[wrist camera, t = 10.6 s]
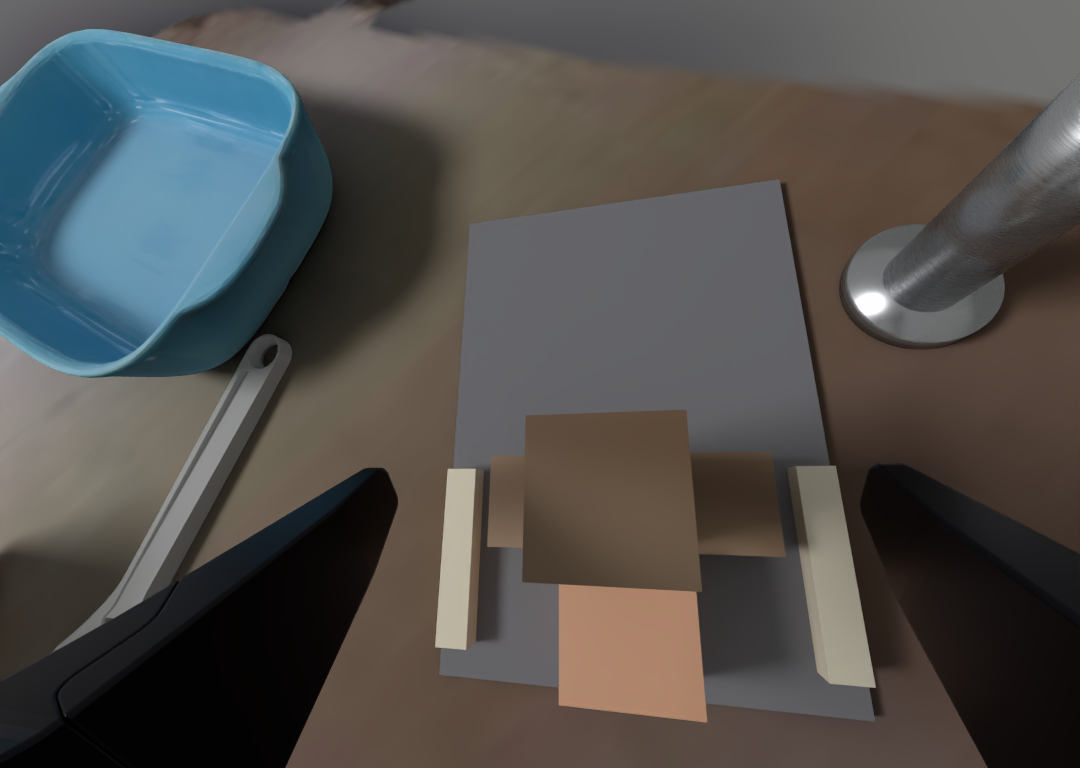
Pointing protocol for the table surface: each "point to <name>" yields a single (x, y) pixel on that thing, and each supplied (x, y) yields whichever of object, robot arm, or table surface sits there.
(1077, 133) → the grey metal stick
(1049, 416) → the table surface
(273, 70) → the casserole dish
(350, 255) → the table surface
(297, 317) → the table surface
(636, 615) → the terracotta block
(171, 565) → the adjustable wrench
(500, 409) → the mat
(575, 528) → the wooden block on base
